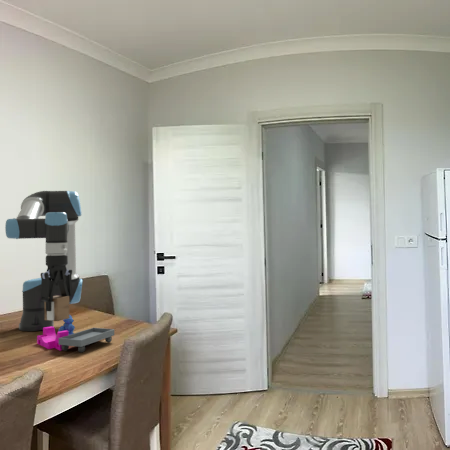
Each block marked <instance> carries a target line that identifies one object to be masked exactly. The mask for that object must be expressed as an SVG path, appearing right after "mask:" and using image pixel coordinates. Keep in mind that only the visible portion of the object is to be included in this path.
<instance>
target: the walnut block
mask: <svg viewBox="0 0 450 450" xmlns="http://www.w3.org/2000/svg"><path fill="white" fill-rule="evenodd" d="M52 302H54V320H49V321H53V322H61V321H63V320H64V319H68V318H69V315H70V304H69V296H53V300H52ZM44 304H45V320H47V311H46V302H44Z"/></svg>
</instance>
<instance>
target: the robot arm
mask: <svg viewBox="0 0 450 450" xmlns="http://www.w3.org/2000/svg"><path fill="white" fill-rule="evenodd" d="M81 216H82V207H81V199H80V195H79V193H78V192H77V191H75V190H74V191H72V190H40V191H36V192H34V193H31V194H29V195H28V196H26V197H25V198H24V199H23V200H22V201H21V204H20V211H19V212H18V215H17V216H16V218H15V217H13V218H7V219H6V220H5V227H4V228H5V229H4V230H5V236H6V238H7V239H14V240H15V239H16V240H19V239H21V240H22V239H23V240H24V239H45V254H46V256H45V265H46V266H47V268H46V271H45V272H41V273H40V277H38V278H32V279H28V280H25V281H24V282H23V284H22V291H21V292H22V314H21V319H20V322H19V323H18V330H19V331H21V332H36V331H37V332H38V331H43V328H44V327H50V326H52V327H54V328H55V326H54V325H55V324H54V322H55V321H49V320H54V302H52V300H53V296H69V305H72V304H77V303H79V302H80V301H81V296H82V287H83V279H82V278H80V274H78V272H77V262H76V261H77V257H76V254H77V253H76V223H77V222H78V221H79V217H81ZM39 217H44V218H39ZM44 302H46V311H47V320H45V304H44Z"/></svg>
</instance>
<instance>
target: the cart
mask: <svg viewBox="0 0 450 450" xmlns="http://www.w3.org/2000/svg"><path fill="white" fill-rule="evenodd" d="M73 333H74V334H71V335H68V336H64V337H61V338H59V345H62V350H61V351H64V352H65V351H68V350H69V348H70V347H77V352H78V353H84V352H85V351H86V346H89V345H90V344H93V343H97V342H99V341H102V340H105V342H106V343H111V342H112V339H113V337H114V336H115V329H114V328H103V327H101V328H100V327H91V328H87V329H84V330H81V331H78V332H73Z"/></svg>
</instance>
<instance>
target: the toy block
mask: <svg viewBox="0 0 450 450" xmlns="http://www.w3.org/2000/svg"><path fill="white" fill-rule="evenodd" d="M68 335H69V332H68V331H60V332H59V331H57V332H56V329H55V326H54V327H52V326H50V327H44V328H43V330H42V334H41V335H37V336H36V343H37V345H39V346H41V347H43V348H45V349H47V350H51V349H56V350H58V351H63V350H62V345H59V338H61V337H64V336H68Z"/></svg>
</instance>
